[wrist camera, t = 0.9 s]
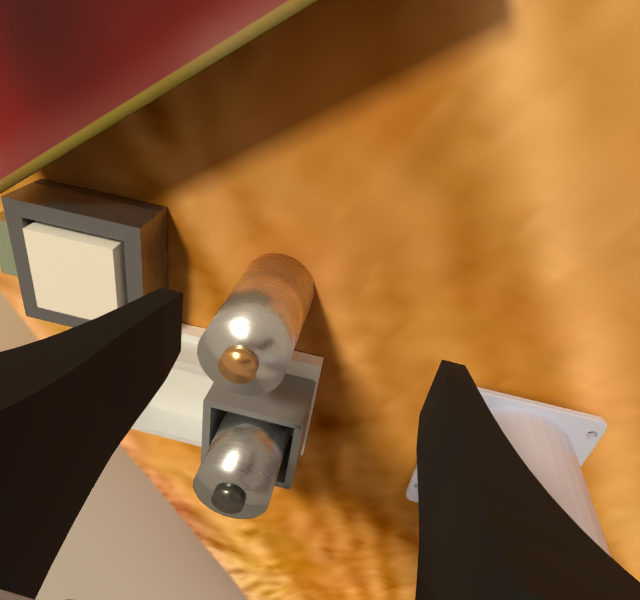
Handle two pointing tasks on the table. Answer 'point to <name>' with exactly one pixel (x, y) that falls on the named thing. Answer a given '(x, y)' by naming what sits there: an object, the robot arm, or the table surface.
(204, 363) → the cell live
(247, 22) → the hardcover book
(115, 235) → the cradle
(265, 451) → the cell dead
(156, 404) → the battery holder
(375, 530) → the table surface
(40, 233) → the pad
